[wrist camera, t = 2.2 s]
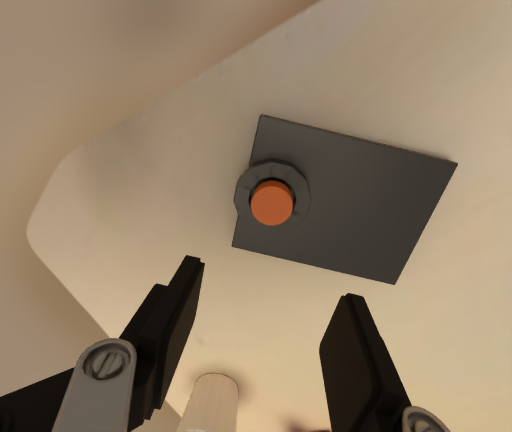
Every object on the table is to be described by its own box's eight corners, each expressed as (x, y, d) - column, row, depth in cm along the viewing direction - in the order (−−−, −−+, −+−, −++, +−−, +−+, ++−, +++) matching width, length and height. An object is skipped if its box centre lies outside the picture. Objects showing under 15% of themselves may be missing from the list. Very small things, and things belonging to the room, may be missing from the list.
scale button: (249, 212, 23) (246, 220, 22) (257, 175, 22) (255, 181, 20) (286, 220, 23) (286, 229, 22) (296, 185, 22) (298, 192, 20)
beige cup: (207, 410, 38) (192, 473, 31) (181, 377, 36) (159, 438, 29) (251, 399, 36) (246, 463, 30) (227, 364, 34) (215, 425, 28)
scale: (228, 238, 27) (222, 254, 25) (254, 112, 23) (251, 114, 20) (389, 276, 28) (401, 296, 25) (448, 160, 23) (472, 168, 20)
